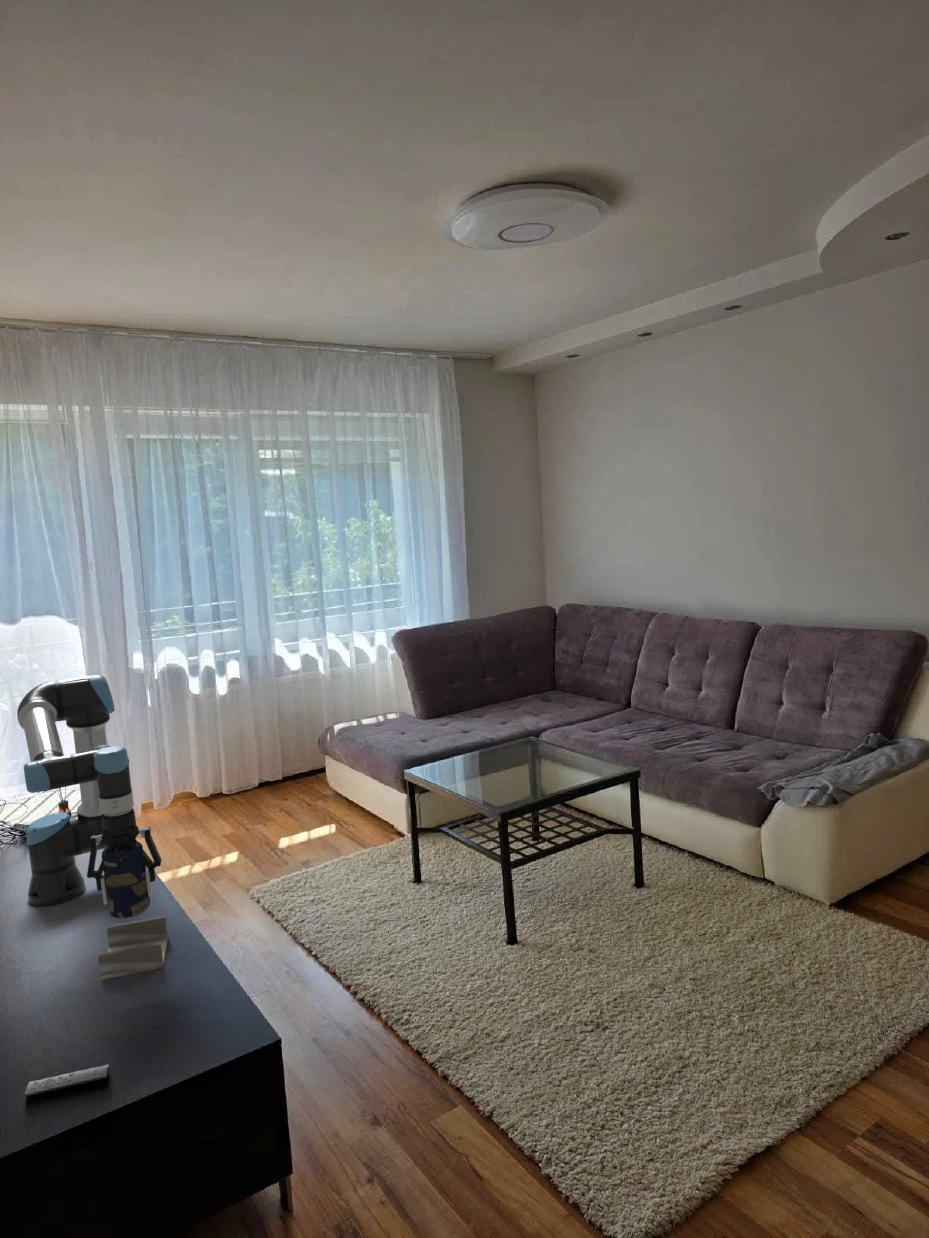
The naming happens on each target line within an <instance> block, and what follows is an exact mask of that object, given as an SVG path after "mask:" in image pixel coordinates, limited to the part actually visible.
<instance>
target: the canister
mask: <svg viewBox="0 0 929 1238" xmlns="http://www.w3.org/2000/svg"><path fill="white" fill-rule="evenodd" d="M107 848H108V847H106V848H105V849H102V852H101V862H102V863H103V875H104V877H105V886H106V893H107V900H108V903H107V907H108V913H109V915H110V916H111V917H113V918H116V919H127V918H133V917H135V916H138V915H141V914H142V913H145V911H147V910H148V909H149V907H150V906H151V905H150V904H151V901H150V899H151V898H150V897H148V889H147V881H146V873H145V871H146V868H147V867H146V866H145V864H144V863H143V856H142V853H143V850H144V847H143V844H142V843H141V842H140V841H138V843H137V846H136V847H132V848H130V847H127V848H120V849H118V848H119V845H118V847H117V848H116V849H113V850H112V851H109V852H106V851H107Z"/></svg>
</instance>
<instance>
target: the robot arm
mask: <svg viewBox="0 0 929 1238" xmlns="http://www.w3.org/2000/svg"><path fill="white" fill-rule="evenodd" d="M113 713H115V702H114V698H113V696H112V692H111V689H110V686H109V684H108V681H107V679H106V677H105V676H104V675H101V674H95V675H94V674H93V675H89V674H88V675H83V676H77V677H71V678H64V679H60V680H59V679H58V680H51V681H45V682H42V683H40V684H38V685H36V686H35V687H34V688H32V689H31V690H29V691H28V693H26V694H25V696H24V697H23V698H22V700H21V701H20V703H19V705H18V707H17V716H16V717H17V721H18V725H19V726H20V728H21V729H22V730H24V735H25V739H26V745H27V750H28V754H29V760H30V762H29V761H28V762H27V763H25V764H24V766H23V774H24V780H25V786H26V790H27V792H28V793H30V794H34V793H35V794H36V793H41V792H42V793H43V792H45V793H46V792H48V791H52V790H56V789H62V788H66V787H67V788H68V787H71V786H76V785H79V792H80V800H81V803H80V804H79V805H78V807H77V808H76V815H71V816H70V814H69V813H68V812H66V811H61V812H54V813H51V814H50V813H48V814H47V815H45V816H41V817H39V818H38V819H36V820H34V821H33V822H31V823H30V824H29V825H28V826H27V828H26V845H27V847H28V855H29V862H30V871H31V877H30V881H29V886H28V891H27V898H28V899H27V900H28V903H29V904H31V905H32V906H39V907H42V906H43V907H45V906H53V905H57V904H61V903H64V902H68V901H70V900H72V899H75V898H76V897H78V896H80V895H81V894H82V893H83V892H84V891H85V889H86V884H85V878H84V877H83V876H82V873H81V872H80V870H79V868H78V866H77V864H76V859H75V857H76V856H81V855H84V854H88V853H89V854H90V855H89V861H88V866H87V873H86V878H88V879H91V878H93V879H95V882H96V890H97V891H98V892H100V891H101V892H102V900H103V905H108V900H107V893H106V886H105V877H104V870H103V863H102V861H101V862H100V864H99V867H98V869H97V870H95V867H96V860H97V854H98V851H101V850H102V851H103V850H104V849H105V848H106V847H108V848H107V851H106V852H109V851H112V850H113V849H116V848H117V847H118V845H119V848H118V849H120V848H127V847H130V848H132V847H136V846H137V843H138V842H139V841H138V840H137V837H138V835H141V837H142V838H143V839H144V840H145V843H146V847H147V849H148V850H149V853H150V855H151V857H150V856H149V855H148V853H146V851H145V850H144V849H143V853H142V856H143V863H144V864H145V866H146V871H145V873H146V881H147V889H148V897H153V892H154V891H153V883H154V882H155V881H156V876H157V875H156V870H155V869H156V868H157V867H160V866H161V865H162V857H161V855H160V852H159V850H158V849H157V845H156V844H155V841H154V838H153V837H152V828H151V826H146V827H145V828H139V827H138V825H137V819H136V812H135V810H136V809H134V807H135V803H134V794H133V789H132V783H131V774H130V759H129V755H128V751H127V749H126V747H124V746H118V745H113V746H112V745H109V744H108V741H107V734H106V733H107V732H106V725H107V724H108V722H110V719H111V718H110V714H113ZM63 721H65V724H66V727H67V728H69V729H71V730H72V733H73V741H74V748H75V753H73V754H72V753H71V754H67V755H64V751H63V747H62V742H61V739H60V736H59V731H58V727H57V724H56V722H63ZM151 858H152V859H151Z"/></svg>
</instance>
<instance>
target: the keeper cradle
mask: <svg viewBox="0 0 929 1238" xmlns="http://www.w3.org/2000/svg"><path fill="white" fill-rule="evenodd" d="M106 930H107V931H106V934H107V939H108V940H107V941H108V949H107V952H103V953H98V956H97V960H98V967H99V973H100V974H99V975H100V980H101V981H103V980H108V979H113V978H117V977H119V978H120V977H124V976H130V975H134V974H140V973H144V972H149V971H150V972H151V971H155V970H159V968H160V969H163V968H164V965H165V959H166V954H167V953H166V952H167V946H168V940H169V935H168V926H167V917H166V915H161V916H156V917H150V918H145V919H138V920H134V921H128V922H123V923H122V922H121V923H116V924H111V925H107V927H106Z"/></svg>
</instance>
